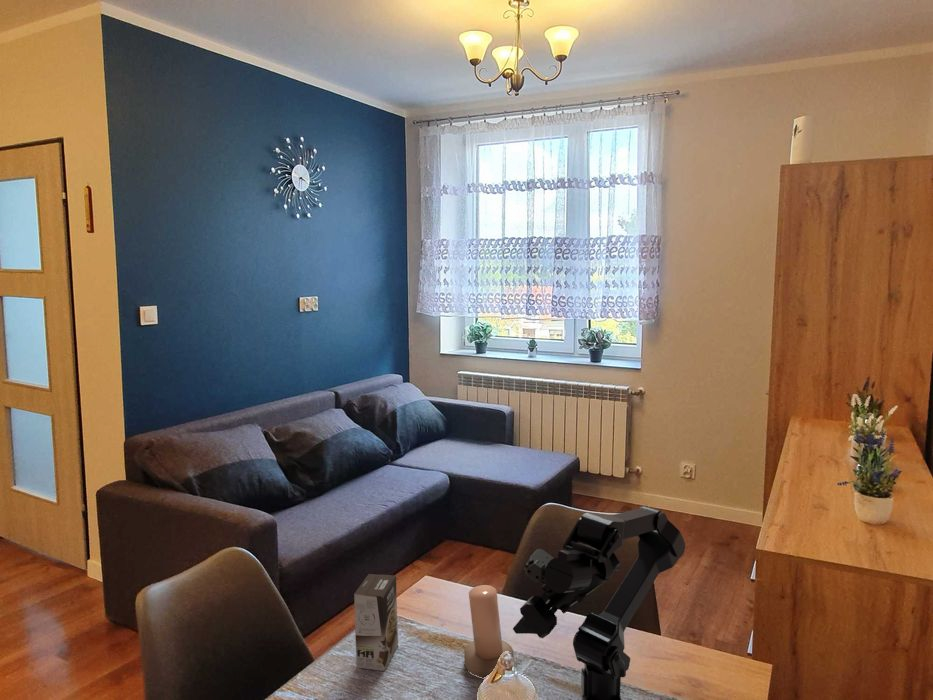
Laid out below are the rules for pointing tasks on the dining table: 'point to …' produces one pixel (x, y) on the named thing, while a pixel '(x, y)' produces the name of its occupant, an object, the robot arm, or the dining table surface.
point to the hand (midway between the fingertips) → (525, 618)
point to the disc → (481, 660)
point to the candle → (485, 622)
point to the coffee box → (376, 621)
